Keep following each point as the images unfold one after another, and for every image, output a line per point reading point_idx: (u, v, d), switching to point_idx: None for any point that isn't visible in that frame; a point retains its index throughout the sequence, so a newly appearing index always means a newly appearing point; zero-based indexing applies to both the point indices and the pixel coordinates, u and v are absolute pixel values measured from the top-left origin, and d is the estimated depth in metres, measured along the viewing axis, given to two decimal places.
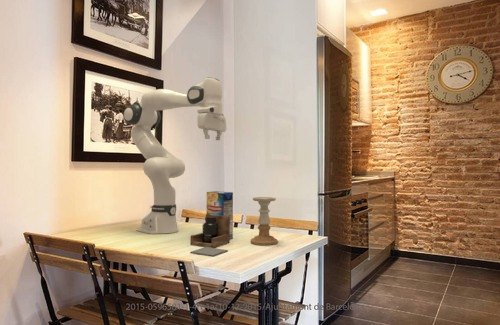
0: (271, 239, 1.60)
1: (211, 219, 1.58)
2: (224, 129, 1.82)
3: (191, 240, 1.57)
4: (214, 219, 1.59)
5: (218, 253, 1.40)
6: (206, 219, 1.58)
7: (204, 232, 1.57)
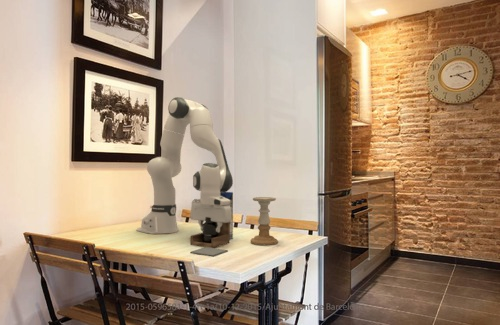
0: (271, 239, 1.60)
1: None
2: None
3: (191, 240, 1.57)
4: None
5: (218, 253, 1.40)
6: (206, 219, 1.58)
7: (204, 232, 1.57)
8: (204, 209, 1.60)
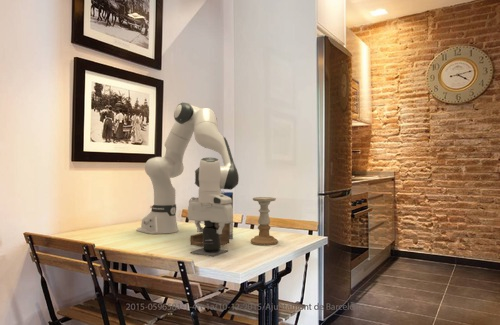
0: (271, 239, 1.60)
1: (210, 222, 1.42)
2: None
3: (191, 240, 1.57)
4: (214, 222, 1.43)
5: (218, 253, 1.40)
6: (205, 223, 1.43)
7: (204, 237, 1.41)
8: (203, 208, 1.44)
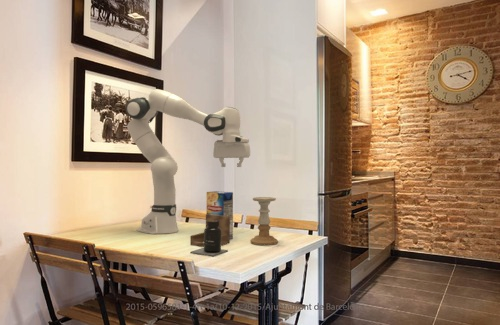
0: (271, 239, 1.60)
1: (213, 223, 1.41)
2: None
3: (191, 240, 1.57)
4: (217, 223, 1.42)
5: (218, 253, 1.40)
6: (208, 223, 1.42)
7: (206, 238, 1.41)
8: (226, 147, 1.82)
